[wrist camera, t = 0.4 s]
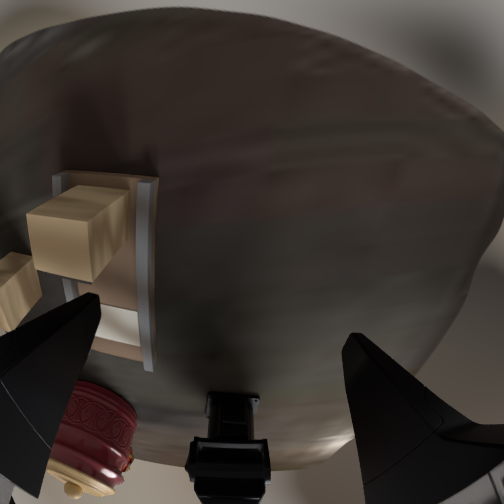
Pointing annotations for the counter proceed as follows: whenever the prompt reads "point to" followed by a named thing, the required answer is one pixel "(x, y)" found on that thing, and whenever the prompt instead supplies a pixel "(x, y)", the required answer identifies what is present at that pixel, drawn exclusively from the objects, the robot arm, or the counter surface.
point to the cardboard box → (17, 289)
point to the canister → (92, 441)
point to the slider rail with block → (104, 253)
